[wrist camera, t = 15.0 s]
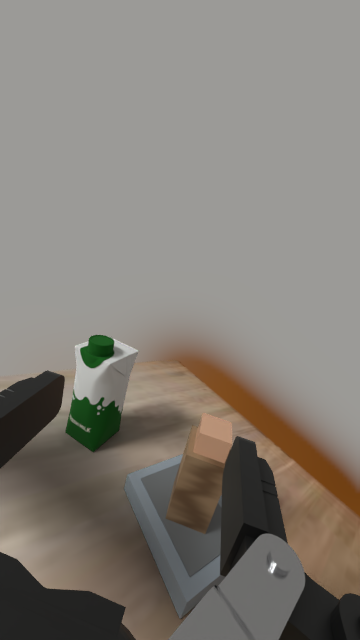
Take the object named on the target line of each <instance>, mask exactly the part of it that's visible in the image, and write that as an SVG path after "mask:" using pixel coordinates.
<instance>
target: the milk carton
mask: <svg viewBox="0 0 360 640" xmlns="http://www.w3.org/2000/svg"><path fill="white" fill-rule="evenodd" d="M138 352H139V351H138V350H136V349H134V348H132V347H130V346H128V345H126V344H123V343H121V342H119V341H117V340H115V339H113V338H111V337H109V336H103V335H94V336H91V337H90V338H89V341H88V342H85V343H82V344H79V345H76V346H75V355H76V366H77V368H76V376H75V382H74V389H73V396H72V403H71V409H70V414H69V418H68V423H67V427H66V432H65V433H67V434H68V435H70V436H71V437H73V438H74V439H75V440H77V441H78V442H80V443H81V444H82V445H84V446H85V447H87V448H88V449H89V450H91V451H92V452H94V451H95V450H96V449H98V448H99V447H100V446H101V445H102V444H103V443H105V442H106V441H107V440H108V439H109V438H110V437H112V436H113V435H114V434H115V433H116V432H117V431H119V428H120V420H121V413H122V409H123V404H124V400H125V395H126V390H127V386H128V381H129V376H130V373H131V370H132V368H133V365H134V362H135V359H136V357H137V354H138Z"/></svg>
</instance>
